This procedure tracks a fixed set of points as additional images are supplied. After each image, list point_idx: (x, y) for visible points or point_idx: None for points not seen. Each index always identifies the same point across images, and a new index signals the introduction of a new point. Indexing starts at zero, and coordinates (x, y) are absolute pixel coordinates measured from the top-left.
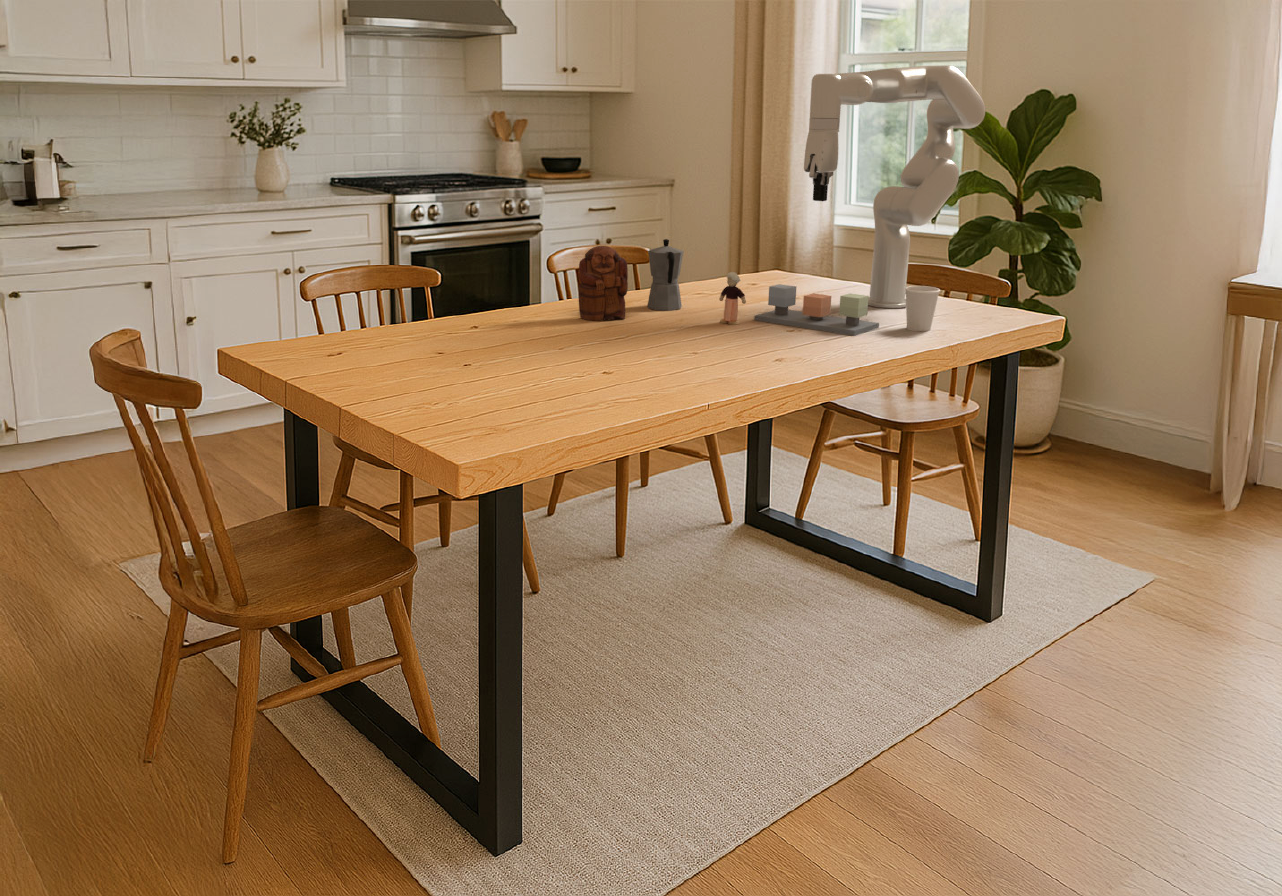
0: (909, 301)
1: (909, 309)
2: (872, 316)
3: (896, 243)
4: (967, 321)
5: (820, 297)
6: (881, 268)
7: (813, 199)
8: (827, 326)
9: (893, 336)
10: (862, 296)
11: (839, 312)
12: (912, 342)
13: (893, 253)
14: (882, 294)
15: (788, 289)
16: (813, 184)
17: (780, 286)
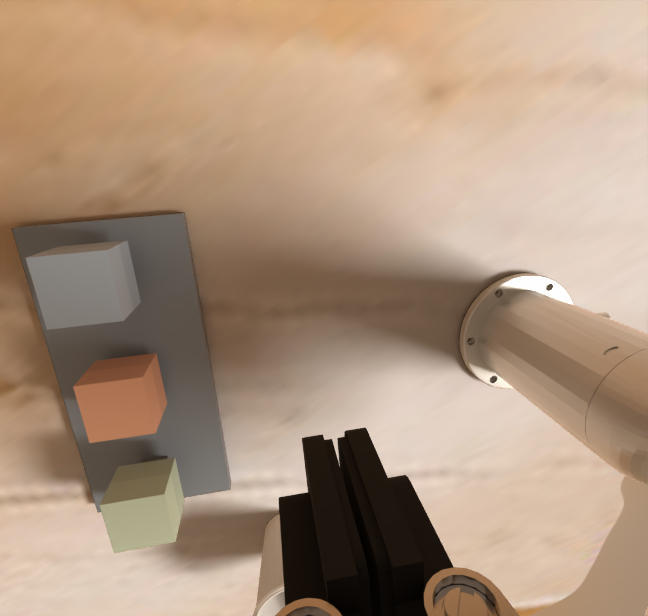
0: (260, 582)
1: (262, 565)
2: (345, 396)
3: (612, 465)
4: (440, 535)
5: (99, 432)
6: (536, 379)
7: (304, 444)
8: (79, 450)
9: (174, 546)
10: (151, 539)
11: (116, 472)
12: (154, 595)
13: (579, 437)
14: (490, 355)
15: (65, 326)
16: (284, 610)
17: (67, 285)
